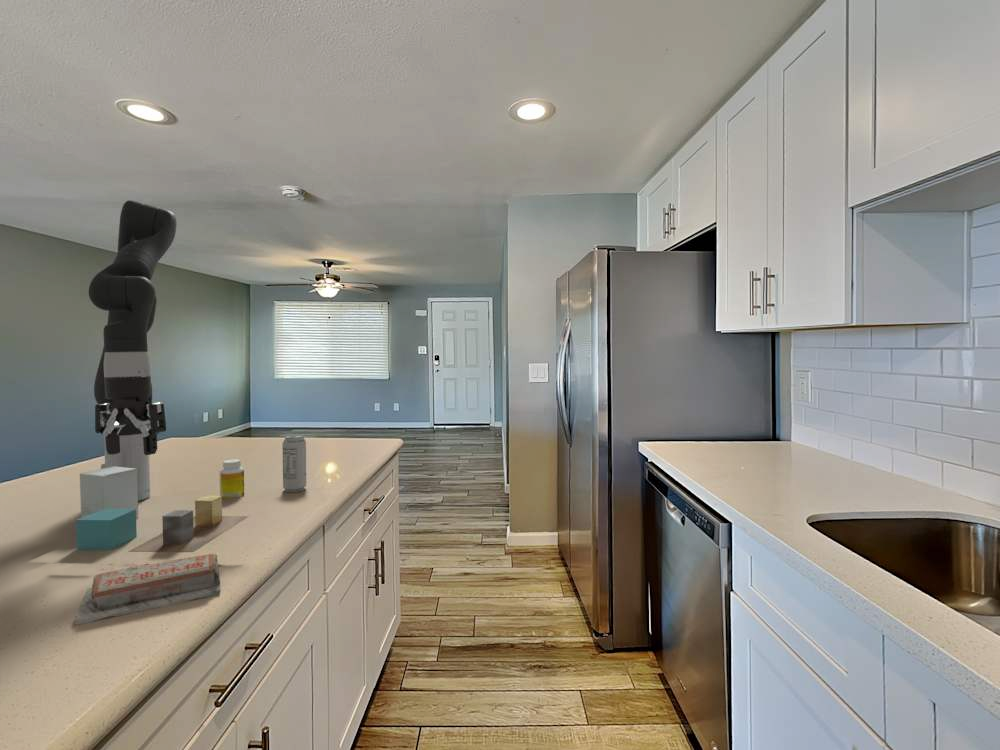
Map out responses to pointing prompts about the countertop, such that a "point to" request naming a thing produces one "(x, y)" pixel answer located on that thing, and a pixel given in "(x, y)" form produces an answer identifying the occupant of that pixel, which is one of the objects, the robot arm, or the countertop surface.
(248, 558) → the countertop surface
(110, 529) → the teal block
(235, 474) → the supplement bottle
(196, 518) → the pale yellow block
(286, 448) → the energy drink can
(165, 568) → the packaged product
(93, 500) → the supplement box
